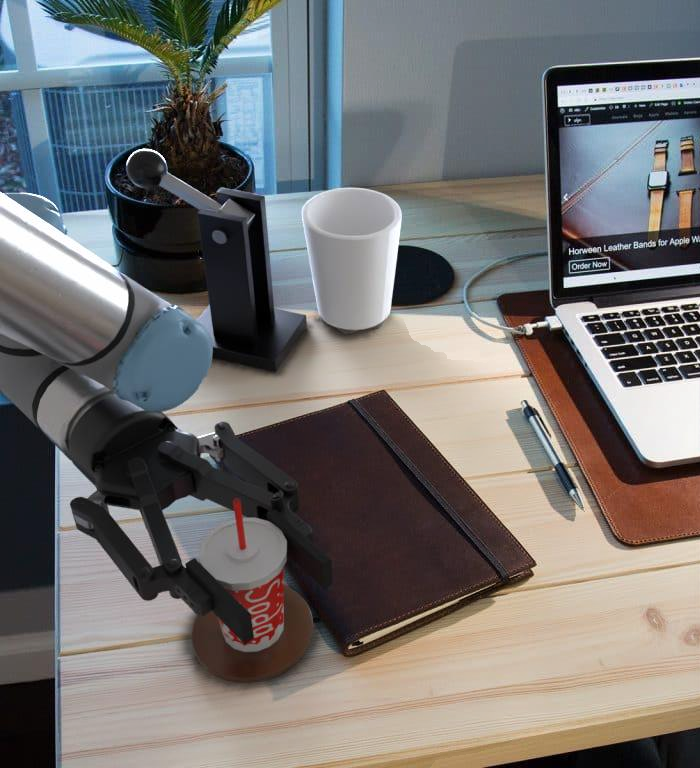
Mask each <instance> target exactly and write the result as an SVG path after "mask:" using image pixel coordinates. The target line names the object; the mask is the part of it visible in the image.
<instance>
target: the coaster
mask: <svg viewBox="0 0 700 768" xmlns="http://www.w3.org/2000/svg"><path fill="white" fill-rule="evenodd" d="M313 633H314V618H313V614H312V610H311V609H310V606H309V604H308V602H306V600H305V599H304V598H303V597H302V596H301V594H299V593H298V592H297V591H296V590H294V589H292V588H291V587H288V586H286V585H284V626H283V632H282V633H281V635H280V637H279V639H278V640H277V641H276V642H274V643H273V644H272V645H271V646H270V647H268V648H265V649H263V650H260V651H256V652H243V651H240V650H236V649H234V648H233V647H231V646H230V645H229V644H228V643H226V641H225V638H224V636H223V634H222V630H221V626H220V623H219V619H218V617H217V616H216V615H215V614H214V612H213V611H210V612H209V613H207V614H206V615H204V616H200V615H198V614H196V617H195V619H194V622H193V625H192V629H191V643H192V649H193V652H194V655H195V657H196V659H197V660H198V663H200V664H201V666H202V667H203V668H204V669H205V670H206V671H208V672H209V673H211V674H212V675H213V676H214V677H217V678H220V679H223V680H224V681H228V682H232V683H243V684H244V683H246V684H247V683H258V682H262V681H266V680H270V679H273V678H276V677H277V676H279V675H281V674H283V673H285V672H287V671H288V670H289V669H291V668H292V667H294V666H295V665H296V664H297V663H298V662H299V661H300V660H301V659H302V657H303V656H304V654H305V653H306V652H307V650H308V648H309V647H310V644H311V642H312V638H313V635H314V634H313Z"/></svg>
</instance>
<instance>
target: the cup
mask: <svg viewBox="0 0 700 768" xmlns="http://www.w3.org/2000/svg"><path fill="white" fill-rule="evenodd" d="M300 215H301V219H302V226H303V231H304V237H305V243H306V250H307V255H308V261H309V267H310V272H311V273H310V274H311V278H312V279H311V280H312V283H313V290H314V295H315V302H316V307H317V312H318V316H319V319H320V320H321V321H322V323H325V324H328V325H329V326H332V327H334V328H336V329H337V330H339V331H340V332H341V333H343V334H345V335H353V334H355V333H356V332H358V331H363V330H367V329H373V330H376V329H377V330H378V329H380V328H381V327H382V326H383V324H384V323H385V322H386V320H387V318H388V317H389V315H390V313H391V308H392V300H393V294H394V293H393V292H394V286H395V285H394V284H395V276H396V270H397V269H396V268H397V261H398V254H399V253H398V251H399V244H400V235H401V228H402V217H403V216H402V215H403V212H402V210H401V207H400V205H399V204H398V202H396V201H395V200H394V199H393V198H391V197H390V196H389V195H387V194H385V193H383V192H380V191H377V190H373V189H368V188H364V187H337V188H332V189H329V190H326V191H323V192H320V193H318V194H316V195H314V196H312V197H311V198H310V199H308V200H307V201H306V202H305V203H304V204H303V206H302V208H301V214H300Z"/></svg>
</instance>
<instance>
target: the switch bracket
mask: <svg viewBox="0 0 700 768" xmlns="http://www.w3.org/2000/svg"><path fill="white" fill-rule="evenodd" d="M216 198H217V203H219V204H220V205H222V206H223V205H224V204H225V203H226V202H227V200H228V199H230V200H232V201H234V202H235V203H237V204H239V205H240V206H242V207H244V208H245V209H247V210H249V211H250V212H252V213H253V214H255V216H254V219H253V221H252V223H251V225H250V227H249V229H248V227H247V218H246V217H243V216H238V215H233V214H228V213H223V212H218V211H213V210H208V209H203V208H202V209H201V210H199V211H198V212H197V219H198V221H197V222H198V227H199V236H200V242H201V251H202V259H203V266H204V267H203V268H204V273H205V281H206V288H207V295H208V296H207V297H208V303H209V304H208V306H207V307H206V308H205V309H204V310H203V312H202V313H201V314H200V316H199V317H198V318H197V319H196V320H197V321H198V322H200V323H201V324H202V325H203V326H204V327H205V328H206V329H207V331H208V333H209V335H210V337H211V340H212V346H213V355H212V360H218V361H223V362H227V363H232V364H236V365H241V366H244V367H245V366H246V367H249V368H254V369H259V370H263V371H267V372H272V373H277V372H278V371H279V369H280V367H281V366H282V364H283V363H284V361H285V360H286V358H288V355H289V354H290V352H291V351H292V350H293V347H295V345H296V343H297V342H298V340H299V339H300V337H301V336H302V334H303V333H304V331H305V330H306V329H307V325H308V324H307V323H308V322H307V314H304V313H298V312H294V311H289V310H285V309H280V308H276V307H275V303H274V291H273V279H272V266H271V255H270V254H271V253H270V243H269V232H268V231H269V230H268V219H267V207H266V196H265V195H261V194H255V193H252V192H251V193H250V192H247V191H246V192H245V191H241V190H236V189H230V188H225V187H220V188H219V189H218V190H217V191H216Z"/></svg>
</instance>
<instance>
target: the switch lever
mask: <svg viewBox="0 0 700 768" xmlns="http://www.w3.org/2000/svg"><path fill="white" fill-rule="evenodd" d="M125 169H126V174H127V177H128V179H129V180H130V181H131V182H132V183H133V185H135V186H137V187H139V188H141V189H147V190H150V189H155V188H157V187H158V188H159V187H161V188H163V189H164V190H166V191H168V192H169V193H170V194H173V195H174V196H176V197H178V198H180V199H181V200H183V201H184V202H186V203H187V204H188V205H189V204H190V205H191V206H193V207H194V208H196V209H198V210H199V211H200V210H201V209H202V208H203V209H208V210H213V211H218V212H223V213H228V214H233V215H238V216H243V217H246V218H247V227H248V229H249V227H250V225H251V223H252V221H253V219H254V216H255V214H253V213H252V212H250V211H249V210H247V209H245V208H244V207H242V206H240V205H239V204H237V203H235V202H234V201H232V200H230V199H228V200H227V202H226V203H225V204H224V205H223V206H222V205H220V204H219V203H218V201H216V200H215V199H212V198H211V197H209V196H207V195H206V194H204V193H202V192H200V191H199V190H198V189H196V188H194V187H192V186H191V185H189V184H188V183H186V182H184V181H183V180H181V179H179V178H177V177H176V176H174V175H172V174H171V173H170V172H168V165H167V162H166V160H165V158H164V157H163V155H161V154H160V153H159V152H158V151H155V150H153V149H149V148H142V149H138V150H136V151H134V152H132V154H130V156H129V157H128V159H127V161H126V166H125Z"/></svg>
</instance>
